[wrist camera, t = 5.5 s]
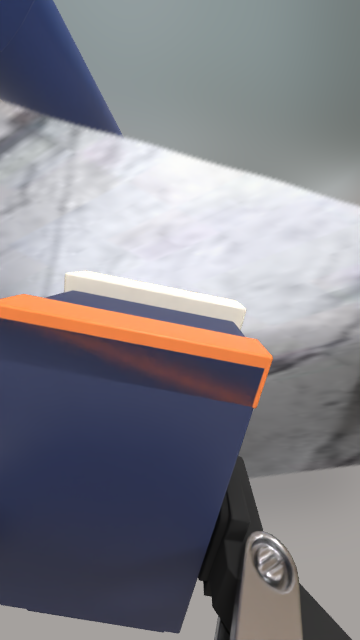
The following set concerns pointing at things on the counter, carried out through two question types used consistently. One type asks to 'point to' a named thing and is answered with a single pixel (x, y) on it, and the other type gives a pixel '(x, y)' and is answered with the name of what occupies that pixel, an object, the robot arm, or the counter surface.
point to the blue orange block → (118, 444)
